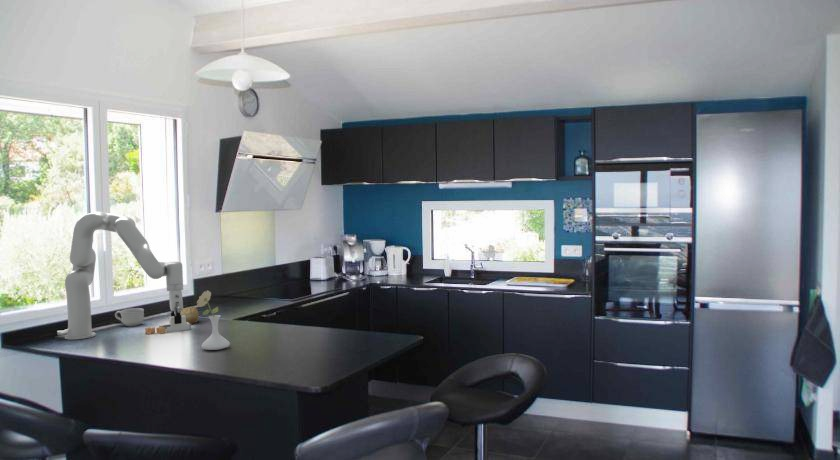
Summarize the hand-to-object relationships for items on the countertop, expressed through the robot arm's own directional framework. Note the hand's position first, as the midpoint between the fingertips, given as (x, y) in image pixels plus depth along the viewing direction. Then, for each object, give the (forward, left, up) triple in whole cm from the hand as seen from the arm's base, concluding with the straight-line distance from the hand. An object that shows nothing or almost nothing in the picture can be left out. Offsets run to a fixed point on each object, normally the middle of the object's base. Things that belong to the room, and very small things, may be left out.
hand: (176, 322), depth 304 cm
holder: (0, 0, -4) cm, 4 cm away
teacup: (-18, +29, -4) cm, 34 cm away
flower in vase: (+6, -55, -4) cm, 55 cm away
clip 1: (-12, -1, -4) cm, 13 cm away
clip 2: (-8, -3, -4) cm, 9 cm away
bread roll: (+9, +17, -4) cm, 20 cm away
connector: (-2, 0, -3) cm, 4 cm away
